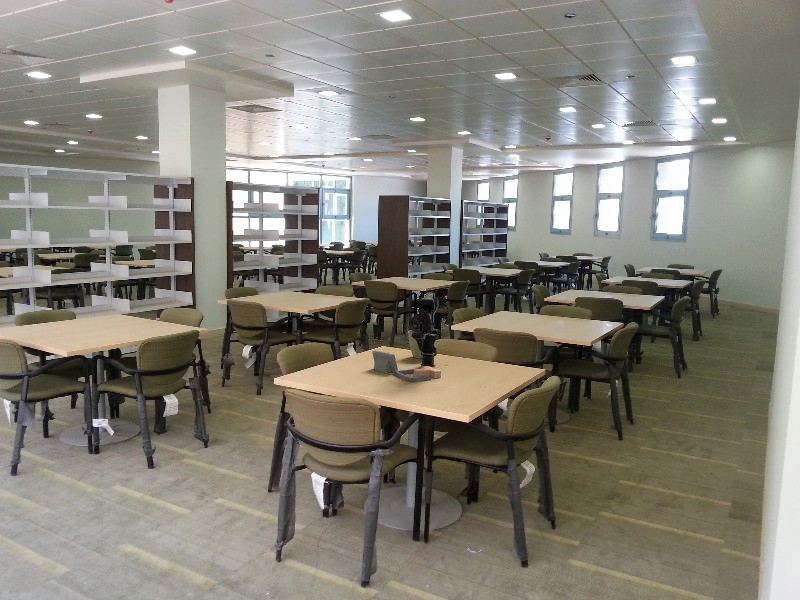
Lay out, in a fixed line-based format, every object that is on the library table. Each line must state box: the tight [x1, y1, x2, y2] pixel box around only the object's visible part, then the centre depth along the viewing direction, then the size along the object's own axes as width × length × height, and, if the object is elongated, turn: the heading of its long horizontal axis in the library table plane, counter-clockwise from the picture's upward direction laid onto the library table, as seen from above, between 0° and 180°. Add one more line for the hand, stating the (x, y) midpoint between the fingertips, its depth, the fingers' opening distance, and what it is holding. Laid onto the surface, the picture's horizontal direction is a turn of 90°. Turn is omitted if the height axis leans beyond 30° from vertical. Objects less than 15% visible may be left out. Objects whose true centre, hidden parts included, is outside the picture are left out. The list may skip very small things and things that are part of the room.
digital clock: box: [372, 350, 399, 374], centre depth 356 cm, size 16×9×11 cm, turn 39°
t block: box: [413, 366, 442, 379], centre depth 346 cm, size 12×13×4 cm
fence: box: [392, 368, 432, 383], centre depth 342 cm, size 13×18×2 cm
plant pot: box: [407, 330, 426, 359], centre depth 393 cm, size 15×15×16 cm
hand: (425, 348), depth 352 cm, fingers open, 9 cm apart
